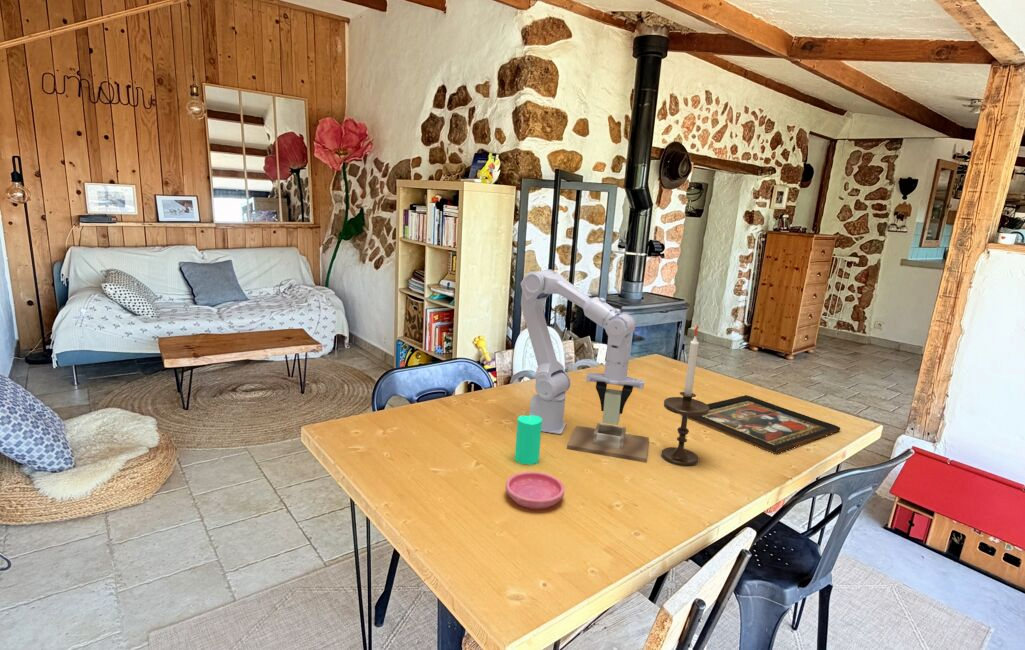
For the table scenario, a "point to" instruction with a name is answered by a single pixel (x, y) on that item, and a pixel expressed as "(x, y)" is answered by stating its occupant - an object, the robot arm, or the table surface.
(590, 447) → the brown socket board
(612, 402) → the rectangular block
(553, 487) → the saucer
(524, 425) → the green upright cylinder
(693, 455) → the candlestick
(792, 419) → the religious icon
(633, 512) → the table surface
